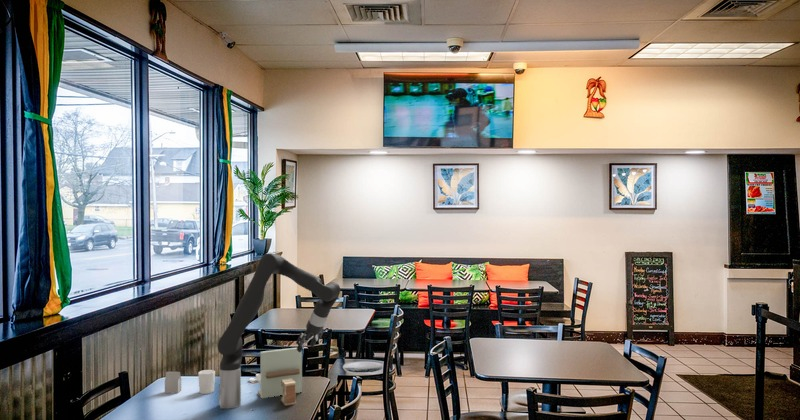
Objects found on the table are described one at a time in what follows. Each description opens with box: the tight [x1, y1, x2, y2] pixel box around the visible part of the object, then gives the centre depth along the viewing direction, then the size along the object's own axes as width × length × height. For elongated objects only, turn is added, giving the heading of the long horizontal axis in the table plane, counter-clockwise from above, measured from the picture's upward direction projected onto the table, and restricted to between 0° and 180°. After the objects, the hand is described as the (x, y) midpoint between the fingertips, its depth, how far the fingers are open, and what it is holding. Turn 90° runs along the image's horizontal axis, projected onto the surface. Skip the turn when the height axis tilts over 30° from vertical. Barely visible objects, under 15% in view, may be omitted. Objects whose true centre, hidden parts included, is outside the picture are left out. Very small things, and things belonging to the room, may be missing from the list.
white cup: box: [198, 369, 216, 395], centre depth 279 cm, size 8×8×10 cm
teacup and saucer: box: [248, 372, 261, 384], centre depth 297 cm, size 9×8×4 cm
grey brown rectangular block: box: [164, 371, 182, 394], centre depth 280 cm, size 4×7×10 cm, turn 87°
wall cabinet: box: [280, 378, 297, 406], centre depth 263 cm, size 9×5×10 cm, turn 27°
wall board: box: [257, 347, 303, 399], centre depth 276 cm, size 11×20×22 cm, turn 117°
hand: (305, 348), depth 260 cm, fingers open, 8 cm apart
